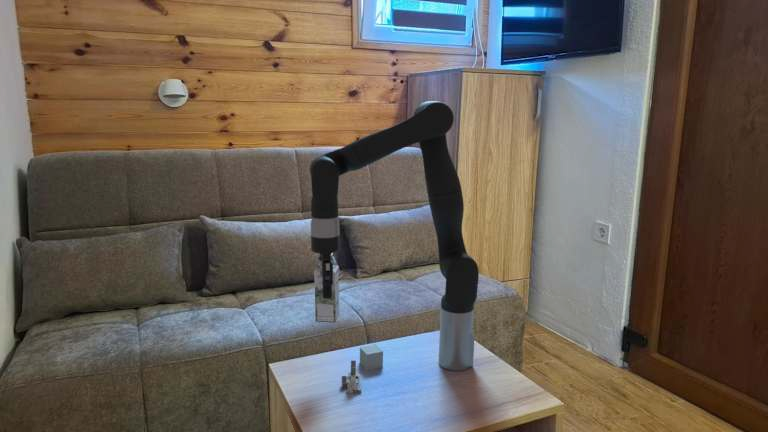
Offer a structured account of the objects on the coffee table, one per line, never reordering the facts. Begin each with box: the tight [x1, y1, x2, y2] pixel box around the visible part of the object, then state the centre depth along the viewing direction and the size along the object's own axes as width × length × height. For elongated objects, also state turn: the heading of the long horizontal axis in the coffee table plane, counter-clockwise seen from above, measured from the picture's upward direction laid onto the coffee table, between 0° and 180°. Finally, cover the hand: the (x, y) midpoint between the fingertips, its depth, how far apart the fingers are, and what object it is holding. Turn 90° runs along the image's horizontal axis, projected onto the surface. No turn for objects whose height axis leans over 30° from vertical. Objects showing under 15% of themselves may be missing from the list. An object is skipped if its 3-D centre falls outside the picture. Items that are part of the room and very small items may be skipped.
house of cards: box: [341, 360, 362, 394], centre depth 142 cm, size 9×9×8 cm
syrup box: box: [313, 264, 340, 323], centre depth 144 cm, size 6×6×14 cm
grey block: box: [359, 344, 384, 371], centre depth 154 cm, size 5×5×5 cm
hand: (326, 293), depth 144 cm, fingers closed on syrup box, 6 cm apart
